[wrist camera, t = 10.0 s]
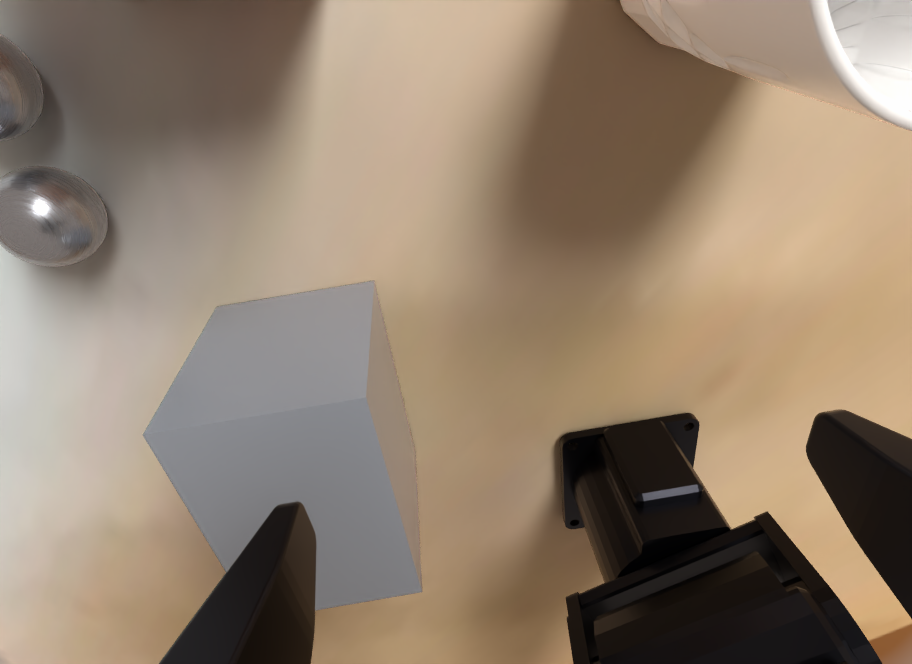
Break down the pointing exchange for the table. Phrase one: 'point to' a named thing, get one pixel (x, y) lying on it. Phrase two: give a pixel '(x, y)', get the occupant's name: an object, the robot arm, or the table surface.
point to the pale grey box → (299, 437)
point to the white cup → (799, 46)
